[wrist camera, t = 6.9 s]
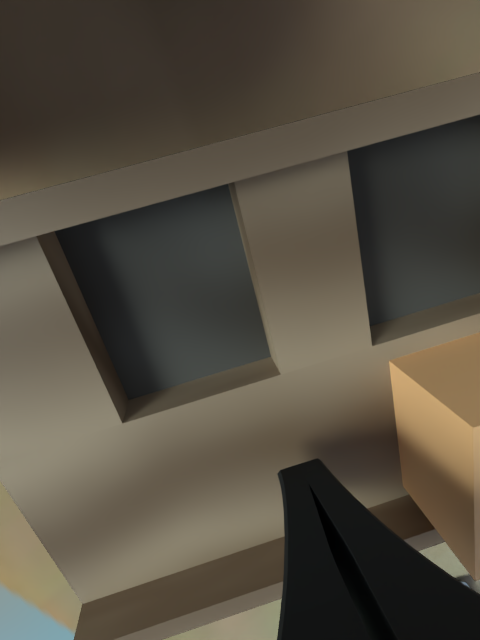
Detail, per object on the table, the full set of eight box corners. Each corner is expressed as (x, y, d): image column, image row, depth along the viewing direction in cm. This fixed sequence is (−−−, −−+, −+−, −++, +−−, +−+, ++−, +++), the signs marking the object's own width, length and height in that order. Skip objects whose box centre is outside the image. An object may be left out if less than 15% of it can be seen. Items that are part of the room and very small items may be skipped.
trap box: (543, 428, 16) (623, 480, 13) (100, 576, 14) (80, 667, 12) (572, 59, 11) (714, 9, 8) (-104, 240, 9) (-226, 260, 7)
